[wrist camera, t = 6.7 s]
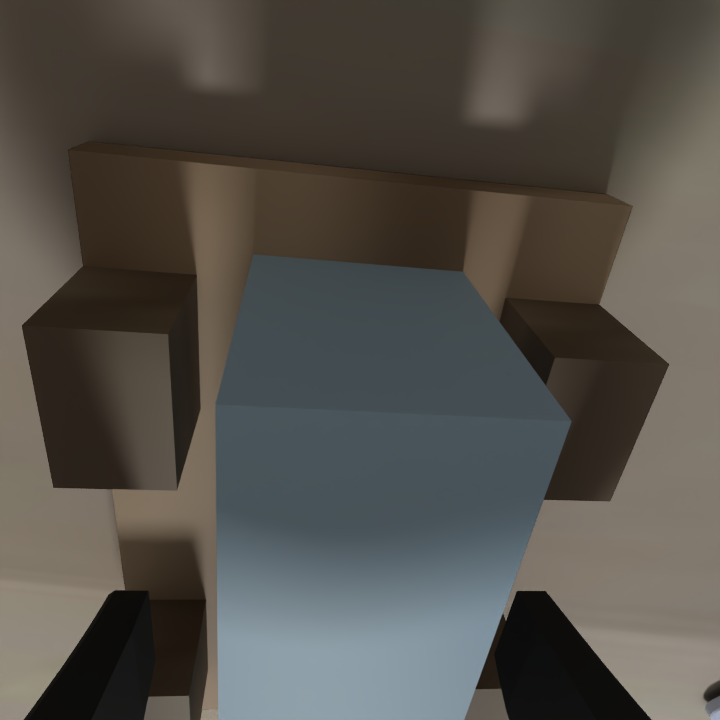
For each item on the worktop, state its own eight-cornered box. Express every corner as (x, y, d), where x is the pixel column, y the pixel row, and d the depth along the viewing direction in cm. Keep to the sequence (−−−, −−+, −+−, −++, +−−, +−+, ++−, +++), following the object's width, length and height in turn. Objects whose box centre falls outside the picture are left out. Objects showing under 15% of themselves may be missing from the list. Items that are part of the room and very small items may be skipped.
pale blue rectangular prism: (463, 271, 11) (571, 420, 6) (371, 696, 17) (394, 912, 13) (253, 254, 10) (214, 404, 6) (241, 699, 17) (220, 925, 12)
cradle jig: (607, 194, 11) (720, 247, 8) (455, 672, 19) (484, 792, 16) (88, 141, 10) (-7, 180, 7) (149, 678, 18) (116, 810, 14)
